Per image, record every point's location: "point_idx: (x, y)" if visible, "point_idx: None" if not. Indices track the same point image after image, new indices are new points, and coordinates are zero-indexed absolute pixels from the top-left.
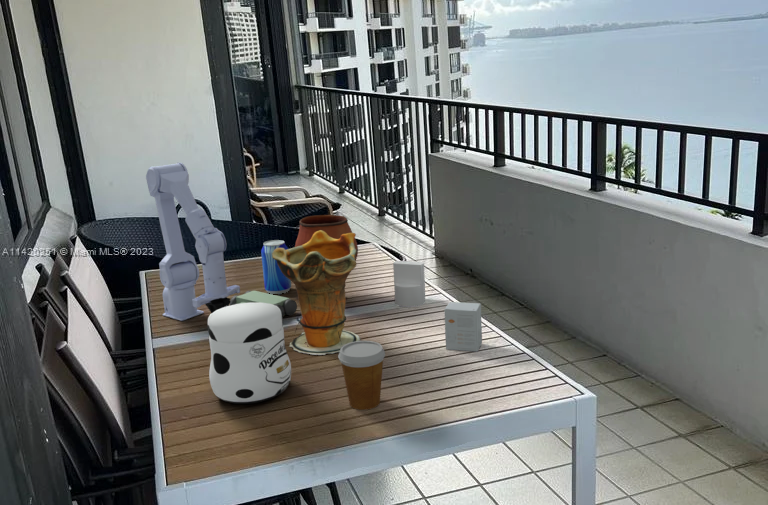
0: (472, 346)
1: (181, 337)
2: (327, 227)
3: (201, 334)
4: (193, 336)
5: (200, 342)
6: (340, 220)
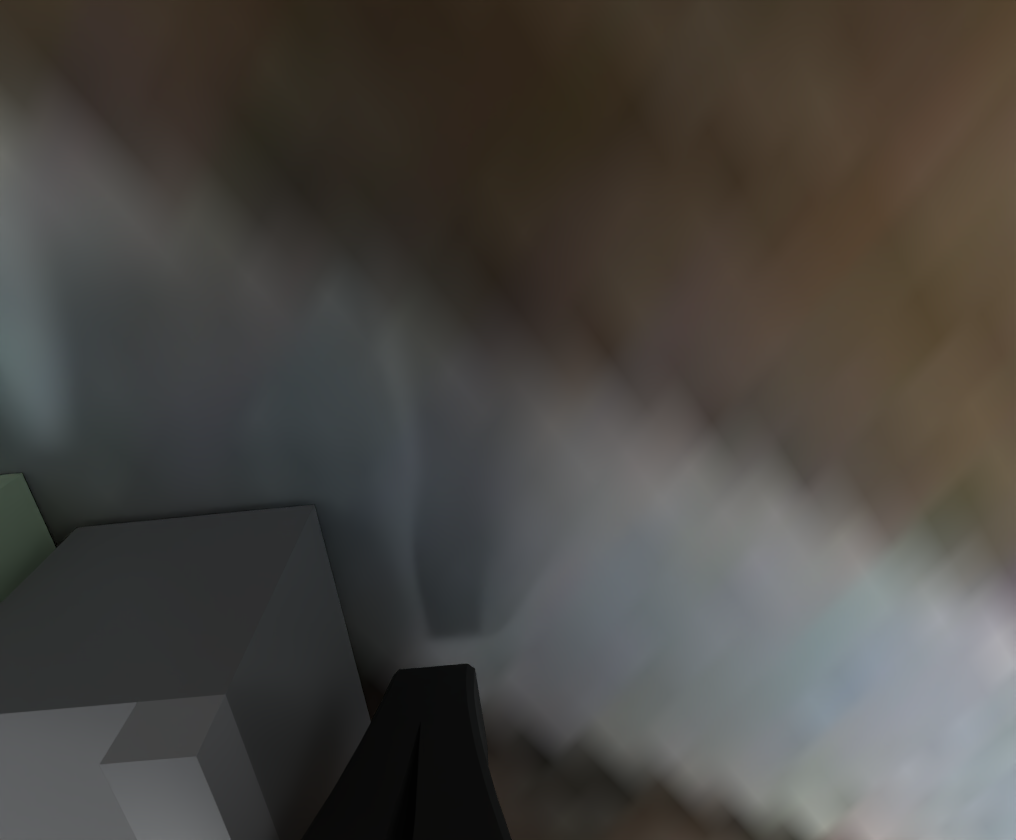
0: None
1: (922, 782)
2: None
3: (722, 694)
4: (827, 711)
5: (963, 471)
6: None
